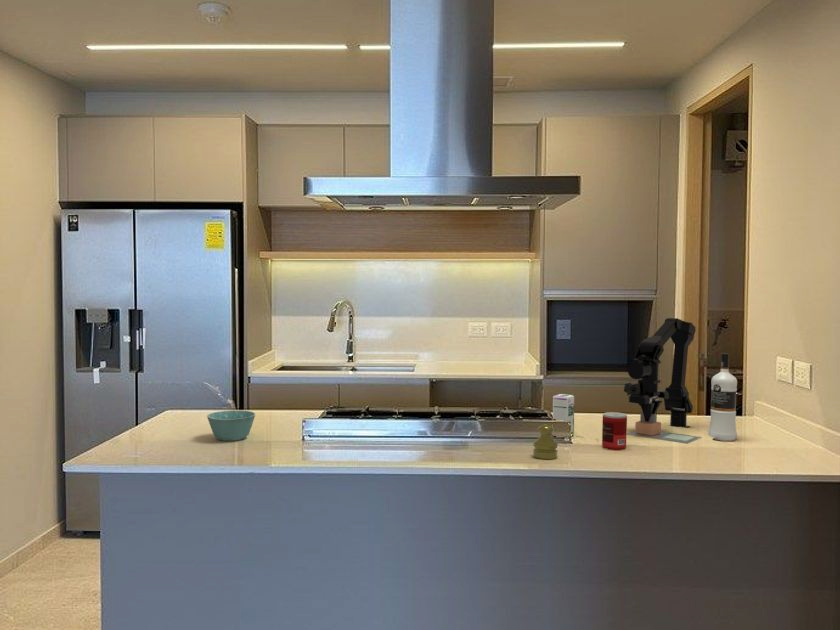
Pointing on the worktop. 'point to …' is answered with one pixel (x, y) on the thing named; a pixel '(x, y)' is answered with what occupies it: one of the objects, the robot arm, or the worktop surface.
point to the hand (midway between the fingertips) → (648, 420)
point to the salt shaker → (545, 444)
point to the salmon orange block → (648, 425)
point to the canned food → (614, 430)
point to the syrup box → (564, 409)
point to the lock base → (669, 437)
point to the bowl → (231, 424)
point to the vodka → (723, 403)
